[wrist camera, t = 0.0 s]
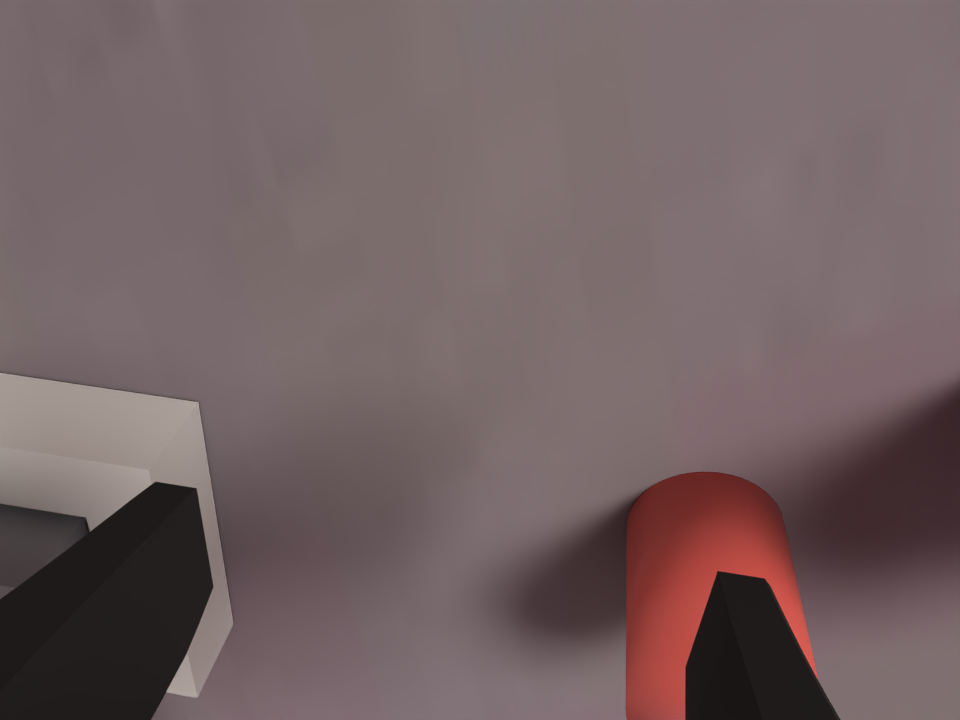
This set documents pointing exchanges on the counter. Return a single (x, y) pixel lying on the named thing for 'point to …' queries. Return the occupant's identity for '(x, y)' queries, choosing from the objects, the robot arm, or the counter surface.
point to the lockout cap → (695, 577)
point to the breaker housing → (112, 474)
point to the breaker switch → (33, 541)
